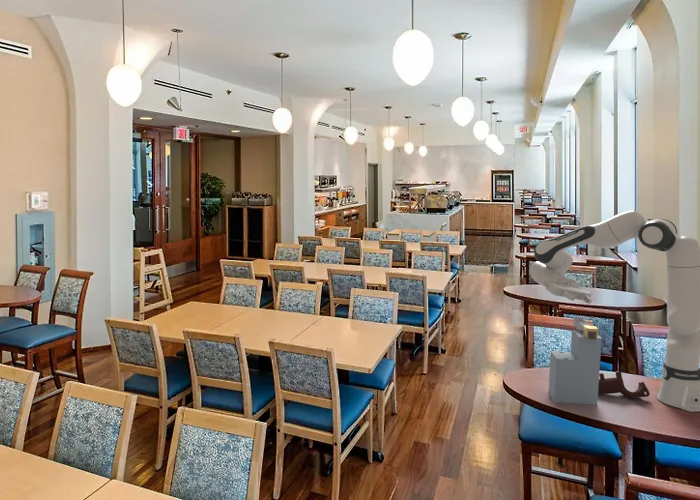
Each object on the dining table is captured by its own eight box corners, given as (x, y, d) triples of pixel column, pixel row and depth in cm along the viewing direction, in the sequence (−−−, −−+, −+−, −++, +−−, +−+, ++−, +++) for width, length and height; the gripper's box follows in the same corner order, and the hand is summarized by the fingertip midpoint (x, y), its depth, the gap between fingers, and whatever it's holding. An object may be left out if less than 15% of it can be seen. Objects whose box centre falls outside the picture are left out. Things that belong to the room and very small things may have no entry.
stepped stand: (589, 394, 203) (593, 330, 200) (597, 404, 194) (601, 338, 190) (548, 391, 206) (552, 328, 203) (554, 401, 196) (557, 336, 193)
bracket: (652, 396, 195) (644, 368, 198) (601, 400, 199) (594, 373, 203) (648, 396, 201) (640, 368, 204) (598, 400, 205) (592, 373, 209)
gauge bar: (582, 325, 208) (583, 315, 208) (597, 339, 189) (598, 329, 188) (572, 324, 209) (572, 315, 209) (586, 338, 190) (586, 328, 189)
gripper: (543, 274, 212) (566, 289, 200) (578, 281, 220) (602, 296, 208) (537, 287, 214) (559, 303, 202) (572, 294, 222) (595, 310, 210)
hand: (581, 300), depth 205 cm, fingers open, 8 cm apart
